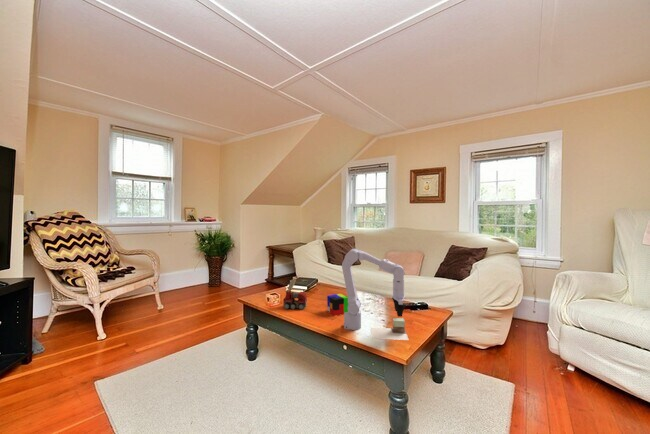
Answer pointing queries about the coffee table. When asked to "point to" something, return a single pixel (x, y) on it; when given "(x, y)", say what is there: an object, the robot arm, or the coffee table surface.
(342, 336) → the coffee table surface
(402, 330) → the walnut brick
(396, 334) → the board
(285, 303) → the toy fire truck
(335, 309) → the puzzle toy
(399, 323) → the sage brick
